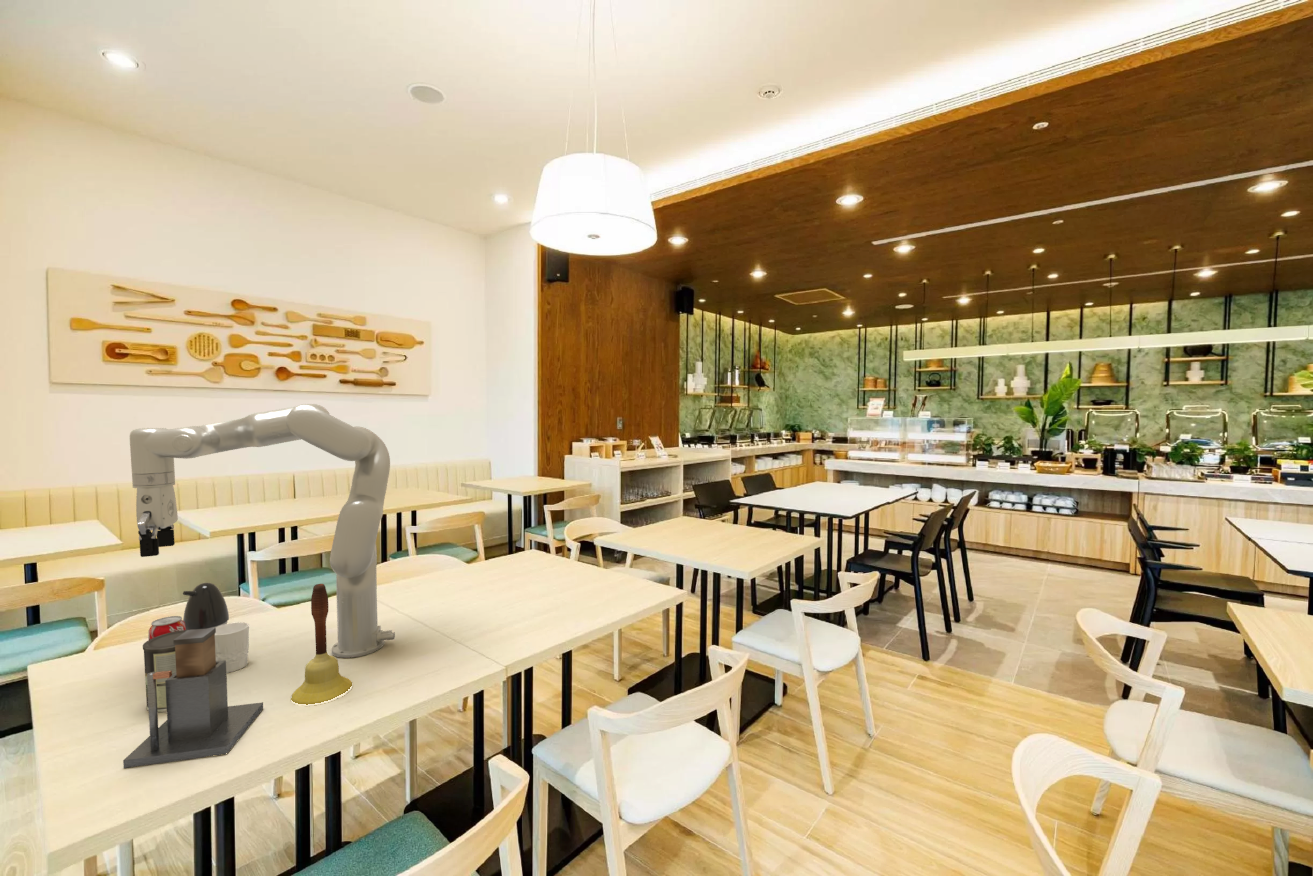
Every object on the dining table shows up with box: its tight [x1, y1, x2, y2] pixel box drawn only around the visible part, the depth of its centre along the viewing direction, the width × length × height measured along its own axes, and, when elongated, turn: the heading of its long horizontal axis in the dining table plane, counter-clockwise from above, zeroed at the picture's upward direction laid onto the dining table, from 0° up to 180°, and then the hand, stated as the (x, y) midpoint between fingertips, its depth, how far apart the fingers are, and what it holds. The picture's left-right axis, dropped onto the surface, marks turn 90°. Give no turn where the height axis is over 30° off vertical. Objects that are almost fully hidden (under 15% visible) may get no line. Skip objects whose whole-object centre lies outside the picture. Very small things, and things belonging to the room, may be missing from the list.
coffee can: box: [142, 629, 195, 713], centre depth 122 cm, size 10×10×14 cm
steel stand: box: [122, 660, 264, 769], centre depth 109 cm, size 16×16×16 cm
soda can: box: [147, 615, 186, 641], centre depth 138 cm, size 7×7×12 cm
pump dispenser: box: [182, 582, 230, 630], centre depth 157 cm, size 10×10×15 cm
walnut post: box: [173, 628, 216, 678], centre depth 109 cm, size 5×5×19 cm
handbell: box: [290, 583, 353, 705], centre depth 126 cm, size 12×12×25 cm
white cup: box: [215, 621, 250, 674], centre depth 138 cm, size 8×8×10 cm
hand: (158, 550), depth 132 cm, fingers open, 9 cm apart
